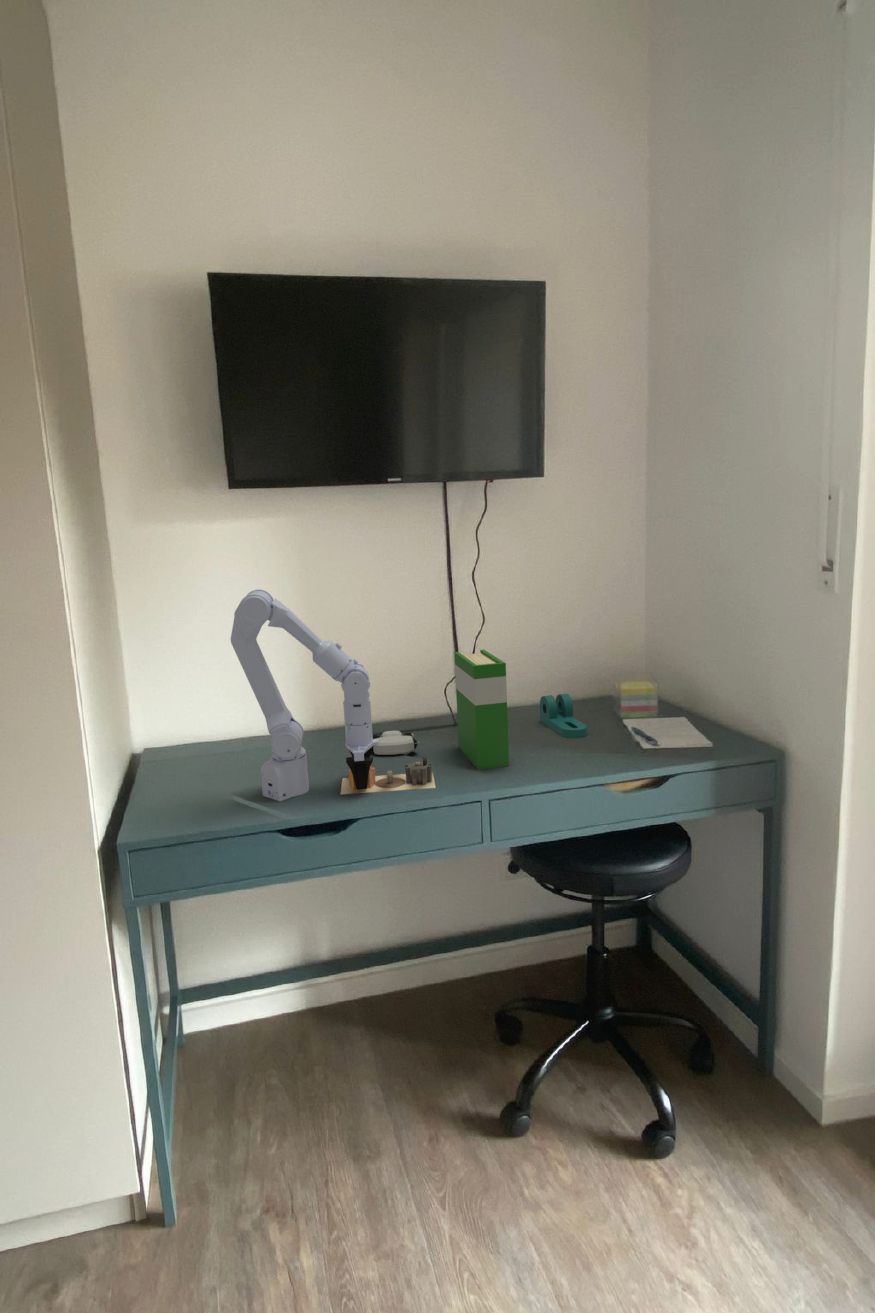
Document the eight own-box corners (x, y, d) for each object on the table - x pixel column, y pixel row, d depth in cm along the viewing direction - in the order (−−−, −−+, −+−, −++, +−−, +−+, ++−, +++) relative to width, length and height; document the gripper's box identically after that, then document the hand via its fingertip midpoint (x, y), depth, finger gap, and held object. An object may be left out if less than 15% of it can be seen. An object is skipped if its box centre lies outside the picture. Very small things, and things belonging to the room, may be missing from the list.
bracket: (540, 721, 222) (539, 693, 220) (563, 719, 223) (562, 691, 222) (566, 740, 204) (565, 709, 203) (591, 736, 206) (591, 706, 205)
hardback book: (458, 747, 202) (454, 652, 198) (487, 744, 204) (483, 649, 199) (477, 769, 185) (473, 666, 181) (509, 765, 187) (505, 663, 182)
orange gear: (362, 791, 172) (360, 775, 171) (343, 785, 176) (342, 770, 175) (381, 783, 176) (380, 767, 176) (362, 778, 180) (361, 763, 179)
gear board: (340, 798, 171) (338, 771, 170) (342, 782, 181) (341, 756, 180) (435, 792, 172) (434, 764, 171) (433, 776, 182) (431, 750, 181)
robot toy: (367, 748, 208) (369, 762, 193) (366, 730, 208) (367, 743, 193) (415, 744, 210) (420, 758, 195) (414, 727, 209) (419, 739, 194)
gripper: (376, 730, 166) (380, 793, 169) (377, 711, 181) (381, 770, 183) (342, 732, 166) (346, 795, 169) (345, 713, 180) (349, 772, 183)
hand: (362, 782), depth 176 cm, fingers open, 7 cm apart
